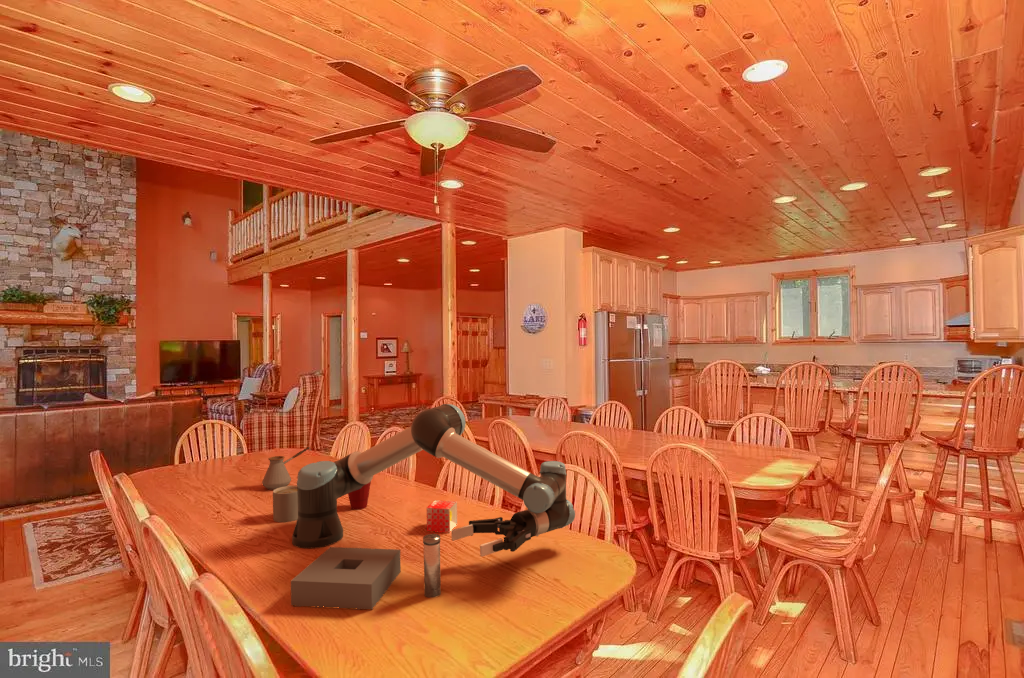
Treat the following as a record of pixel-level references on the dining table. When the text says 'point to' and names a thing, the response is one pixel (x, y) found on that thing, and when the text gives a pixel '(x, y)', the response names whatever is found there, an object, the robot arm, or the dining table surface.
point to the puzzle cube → (441, 516)
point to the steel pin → (432, 565)
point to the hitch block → (346, 578)
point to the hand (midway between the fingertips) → (465, 542)
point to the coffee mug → (285, 504)
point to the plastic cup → (359, 497)
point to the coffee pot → (278, 472)
